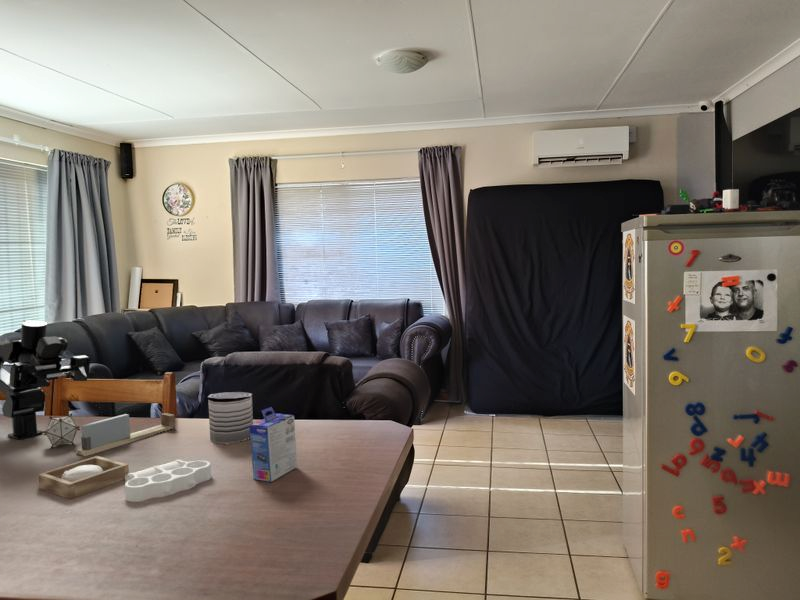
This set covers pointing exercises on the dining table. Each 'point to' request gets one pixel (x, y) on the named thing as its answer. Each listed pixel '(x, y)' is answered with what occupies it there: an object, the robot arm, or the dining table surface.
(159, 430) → the rail
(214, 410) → the can
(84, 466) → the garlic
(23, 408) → the robot arm
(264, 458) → the ink cartridge box
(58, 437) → the game die
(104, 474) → the garlic tray
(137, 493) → the white brass knuckles
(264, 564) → the dining table surface
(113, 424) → the panel
